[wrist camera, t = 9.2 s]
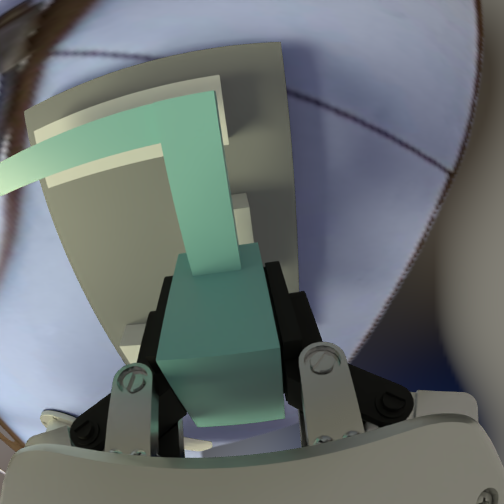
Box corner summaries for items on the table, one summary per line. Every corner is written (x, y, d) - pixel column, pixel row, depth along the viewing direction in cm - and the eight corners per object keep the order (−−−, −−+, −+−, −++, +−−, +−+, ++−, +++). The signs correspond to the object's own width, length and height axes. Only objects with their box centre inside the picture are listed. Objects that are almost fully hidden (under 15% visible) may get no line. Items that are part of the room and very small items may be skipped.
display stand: (294, 329, 23) (305, 368, 19) (131, 348, 22) (122, 385, 19) (273, 48, 12) (289, 33, 9) (42, 107, 12) (2, 116, 9)
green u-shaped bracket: (274, 383, 16) (287, 459, 11) (125, 393, 15) (113, 461, 11) (238, 88, 8) (252, 77, 4) (6, 160, 8) (-80, 212, 3)
